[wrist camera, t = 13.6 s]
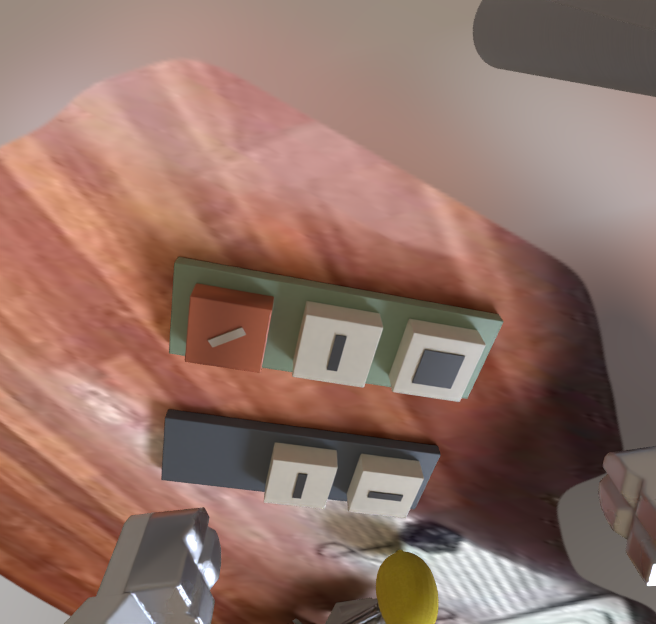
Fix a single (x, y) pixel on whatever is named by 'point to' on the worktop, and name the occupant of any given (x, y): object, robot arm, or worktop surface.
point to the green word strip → (319, 292)
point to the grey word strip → (253, 447)
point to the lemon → (406, 590)
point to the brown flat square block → (227, 328)
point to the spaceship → (355, 613)
